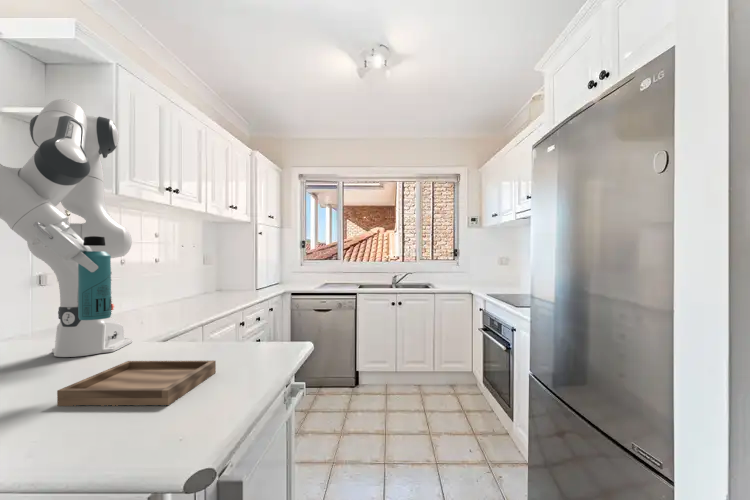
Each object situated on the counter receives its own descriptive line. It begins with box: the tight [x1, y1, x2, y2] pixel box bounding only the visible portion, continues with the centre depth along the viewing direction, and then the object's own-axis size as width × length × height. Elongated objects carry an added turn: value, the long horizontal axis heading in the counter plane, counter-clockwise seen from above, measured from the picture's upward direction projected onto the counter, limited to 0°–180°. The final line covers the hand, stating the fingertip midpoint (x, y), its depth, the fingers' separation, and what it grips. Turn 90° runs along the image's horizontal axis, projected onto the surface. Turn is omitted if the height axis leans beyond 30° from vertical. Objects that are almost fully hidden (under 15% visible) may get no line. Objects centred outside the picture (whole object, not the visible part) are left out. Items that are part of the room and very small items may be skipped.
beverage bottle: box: [77, 236, 113, 320], centre depth 94 cm, size 6×7×20 cm
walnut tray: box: [56, 360, 217, 407], centre depth 92 cm, size 22×22×3 cm
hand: (98, 269), depth 94 cm, fingers closed on beverage bottle, 6 cm apart
